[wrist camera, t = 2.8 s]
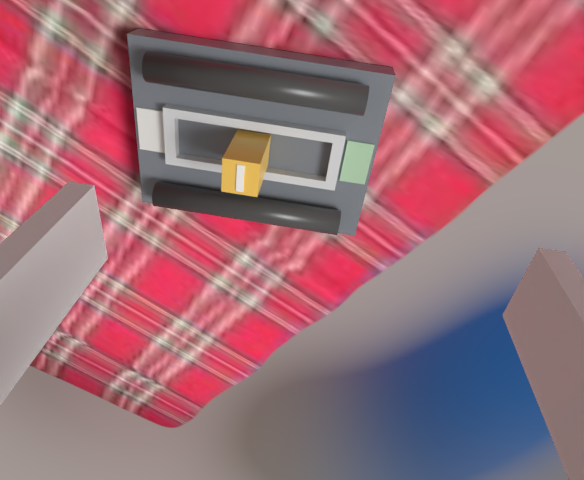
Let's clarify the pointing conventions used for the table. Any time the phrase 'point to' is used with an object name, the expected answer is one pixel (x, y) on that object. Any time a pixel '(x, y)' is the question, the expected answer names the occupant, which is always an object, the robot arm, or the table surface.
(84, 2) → the table surface
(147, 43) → the panel
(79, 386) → the table surface
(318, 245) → the table surface
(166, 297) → the table surface
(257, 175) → the lever
